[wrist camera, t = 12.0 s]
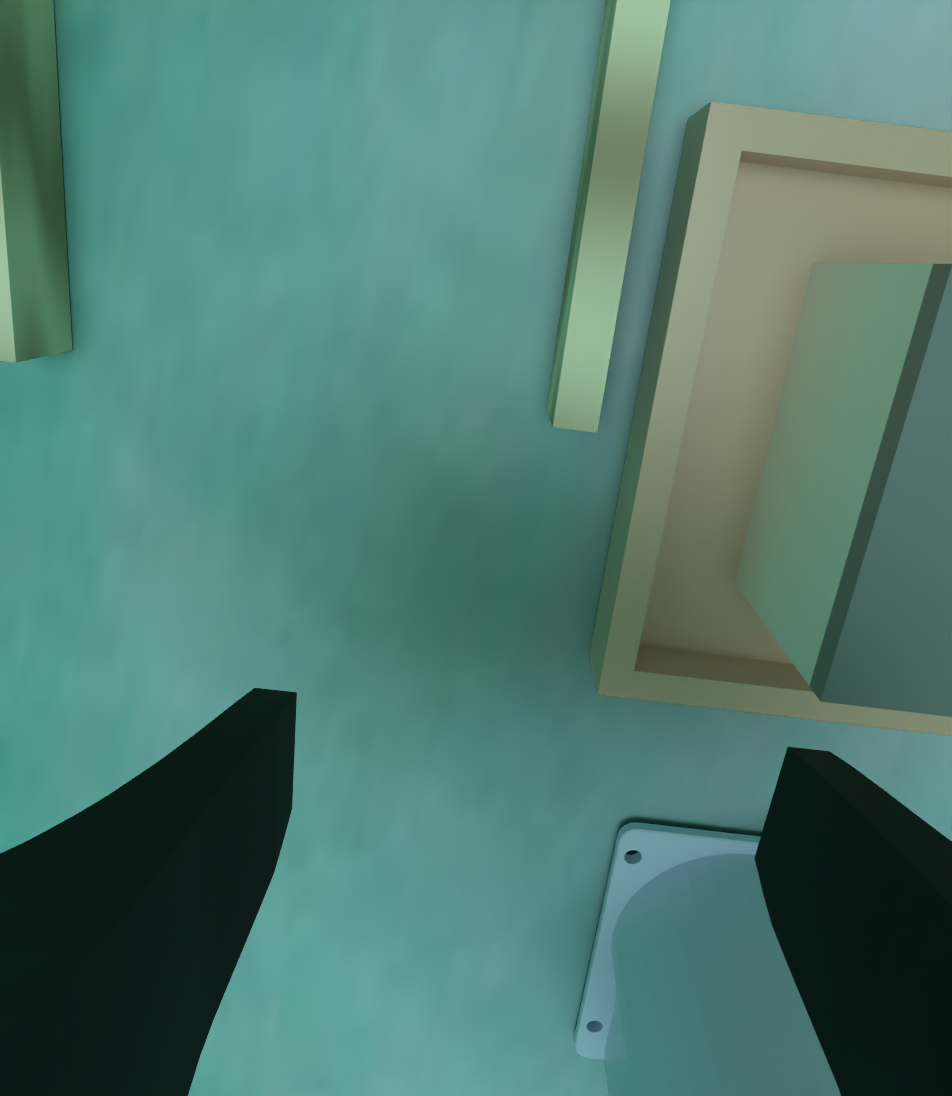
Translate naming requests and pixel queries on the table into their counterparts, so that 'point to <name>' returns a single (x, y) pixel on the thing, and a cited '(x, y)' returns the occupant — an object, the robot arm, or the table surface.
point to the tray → (744, 390)
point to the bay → (596, 245)
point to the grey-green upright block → (862, 491)
